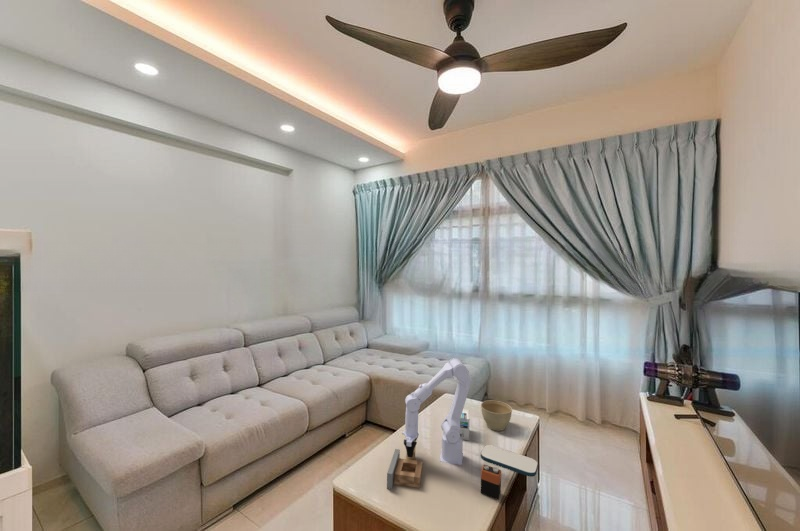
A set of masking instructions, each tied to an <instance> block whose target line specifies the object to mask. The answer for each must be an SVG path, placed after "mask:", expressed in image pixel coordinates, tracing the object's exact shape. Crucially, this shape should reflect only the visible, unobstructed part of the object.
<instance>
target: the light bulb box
mask: <svg viewBox="0 0 800 531" xmlns="http://www.w3.org/2000/svg"><path fill="white" fill-rule="evenodd" d="M470 420H471V419H470V410H469V409H465V408H463V411H462V414H461V418H460V439H461V440H465V441H470Z"/></svg>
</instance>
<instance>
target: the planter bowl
mask: <svg viewBox="0 0 800 531" xmlns="http://www.w3.org/2000/svg"><path fill="white" fill-rule="evenodd" d="M480 407H481V415H482V418H483V420H484V421H485V423H486V426H487V428H489V429H490V430H491V431H492V430H493V431H497V432H499V431H500V432H502V431H504V430H505V429H506V427H507V426H508V425H509V423H510V421H511V418H512V412H513V408H512V406H510V405H509V404H508V403H506V402H504V401H500V400H499V401H498V400H485V401H482V402H481V404H480Z"/></svg>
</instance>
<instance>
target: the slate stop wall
mask: <svg viewBox="0 0 800 531" xmlns="http://www.w3.org/2000/svg"><path fill="white" fill-rule="evenodd" d="M400 453H401V449H399V448H398V449H397V448H395V449H394V451H393V454H392V457H391V461H390V464H389V466H388V470H387V472H386V490H387V489H388V490H393V486H394V485H395V484H394V474H395V470H396V467H397V464H398V460H399V458H401V456H400V455H401V454H400Z"/></svg>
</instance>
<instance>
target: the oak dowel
mask: <svg viewBox="0 0 800 531" xmlns="http://www.w3.org/2000/svg"><path fill="white" fill-rule="evenodd" d="M413 442H417V440H414V441H413ZM416 446H417V445H416ZM416 446H415V448H414V452H413V457H408V456H407V451H405V452H406V453H405V455H406V456H405V459H408V460H415V461H416V450H417V449H416Z"/></svg>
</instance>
